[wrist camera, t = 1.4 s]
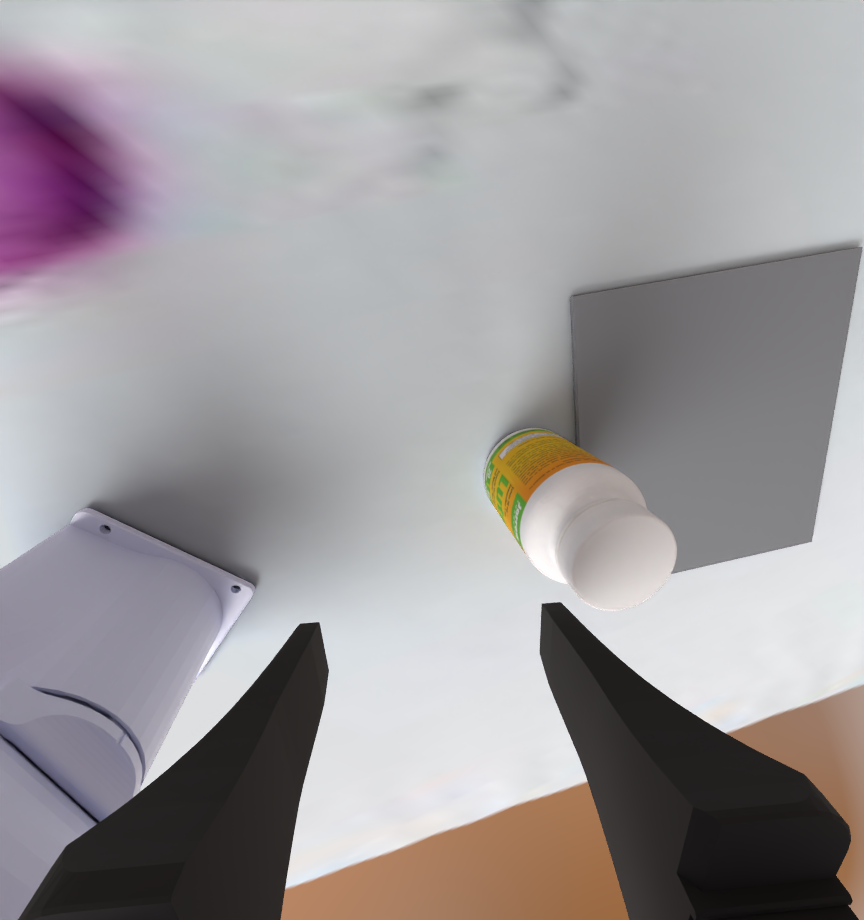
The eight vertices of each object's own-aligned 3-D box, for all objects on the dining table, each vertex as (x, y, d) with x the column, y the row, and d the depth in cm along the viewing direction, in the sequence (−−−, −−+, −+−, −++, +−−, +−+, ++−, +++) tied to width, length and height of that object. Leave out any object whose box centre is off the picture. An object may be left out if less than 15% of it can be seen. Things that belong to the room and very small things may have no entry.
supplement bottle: (467, 451, 22) (530, 537, 13) (555, 409, 22) (680, 467, 13) (500, 528, 24) (577, 650, 15) (582, 490, 24) (709, 589, 15)
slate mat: (582, 589, 27) (586, 593, 26) (570, 296, 21) (573, 296, 20) (805, 538, 28) (811, 541, 27) (853, 248, 22) (862, 246, 21)
